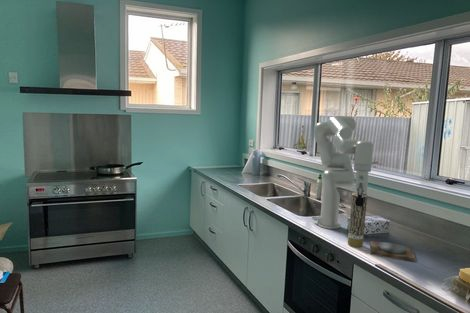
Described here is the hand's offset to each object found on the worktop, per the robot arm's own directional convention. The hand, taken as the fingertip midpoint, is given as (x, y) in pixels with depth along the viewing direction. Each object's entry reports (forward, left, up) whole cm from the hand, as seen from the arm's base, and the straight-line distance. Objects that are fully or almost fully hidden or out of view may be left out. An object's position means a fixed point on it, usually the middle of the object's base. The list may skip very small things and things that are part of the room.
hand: (359, 203), depth 170 cm
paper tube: (0, 0, -21) cm, 21 cm away
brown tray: (+16, -1, -20) cm, 26 cm away
